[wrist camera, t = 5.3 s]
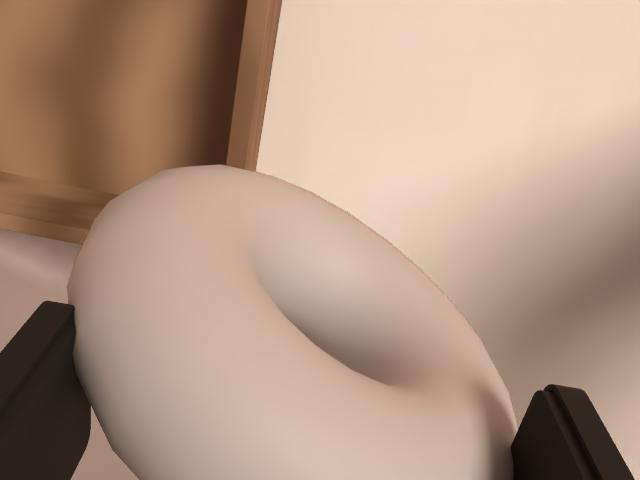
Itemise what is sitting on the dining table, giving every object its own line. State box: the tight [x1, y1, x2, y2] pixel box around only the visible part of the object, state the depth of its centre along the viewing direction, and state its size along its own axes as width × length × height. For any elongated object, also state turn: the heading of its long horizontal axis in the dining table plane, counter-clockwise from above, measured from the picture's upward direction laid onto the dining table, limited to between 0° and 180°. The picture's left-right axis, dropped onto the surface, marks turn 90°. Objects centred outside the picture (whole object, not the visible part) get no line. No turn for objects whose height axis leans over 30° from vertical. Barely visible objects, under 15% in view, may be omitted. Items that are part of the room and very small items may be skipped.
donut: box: [67, 164, 518, 480], centre depth 12 cm, size 10×3×10 cm, turn 56°
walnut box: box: [0, 0, 282, 245], centre depth 25 cm, size 16×16×5 cm
